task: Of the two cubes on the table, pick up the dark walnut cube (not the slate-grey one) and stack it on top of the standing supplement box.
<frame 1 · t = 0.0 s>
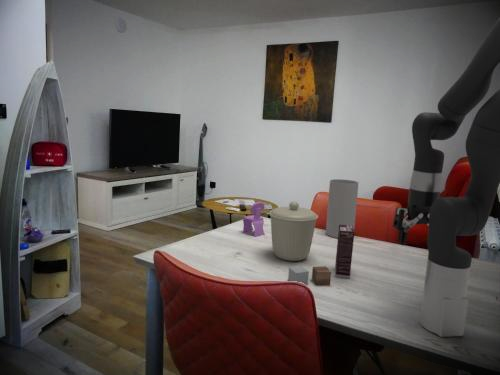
hand: (416, 244, 101), 17 cm above the table, tool pointing down, fingers open, 8 cm apart
slate cube: (297, 283, 113), on the table
supplement box: (342, 273, 123), on the table
walnut cube: (320, 282, 114), on the table
canister: (290, 256, 136), on the table
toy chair: (253, 233, 163), on the table
cylinder vase: (339, 235, 166), on the table
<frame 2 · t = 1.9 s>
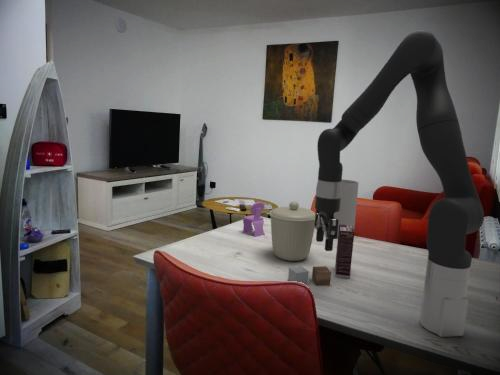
hand: (323, 245, 113), 12 cm above the table, tool pointing down, fingers open, 8 cm apart
nothing on the table moved.
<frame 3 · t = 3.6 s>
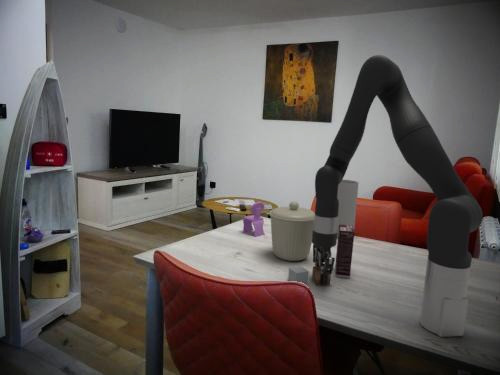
hand: (320, 281, 114), 0 cm above the table, tool pointing down, fingers closed on walnut cube, 4 cm apart
walnut cube: (320, 282, 114), on the table, touching gripper
everything else where it was.
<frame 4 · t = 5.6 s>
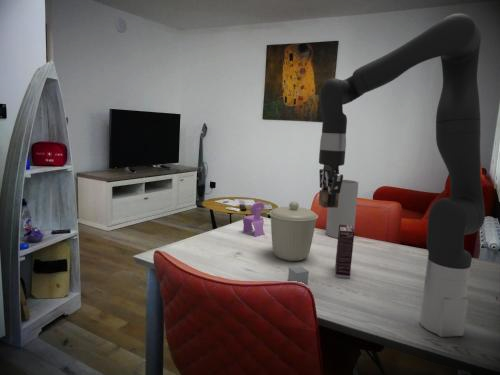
hand: (328, 204, 110), 25 cm above the table, tool pointing down, fingers closed on walnut cube, 4 cm apart
walnut cube: (327, 205, 110), point 25 cm above the table, touching gripper
everything else where it was.
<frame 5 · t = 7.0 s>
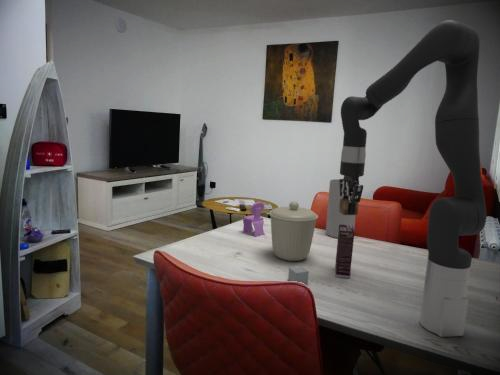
hand: (348, 212, 119), 21 cm above the table, tool pointing down, fingers closed on walnut cube, 4 cm apart
walnut cube: (347, 213, 119), point 21 cm above the table, touching gripper
everything else where it was.
when the fingers open (18 cm above the table, at t = 8.0 s): walnut cube drops 2 cm, resting on supplement box.
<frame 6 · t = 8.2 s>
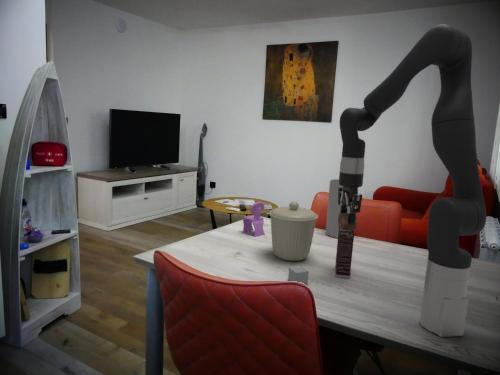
hand: (347, 221, 120), 18 cm above the table, tool pointing down, fingers open, 6 cm apart
supplement box: (342, 273, 123), on the table, touching walnut cube
walnut cube: (346, 227, 120), point 16 cm above the table, touching supplement box
everything else where it was.
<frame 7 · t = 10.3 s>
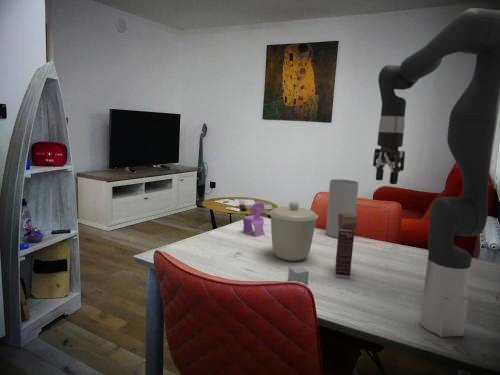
hand: (385, 182, 117), 32 cm above the table, tool pointing down, fingers open, 8 cm apart
nothing on the table moved.
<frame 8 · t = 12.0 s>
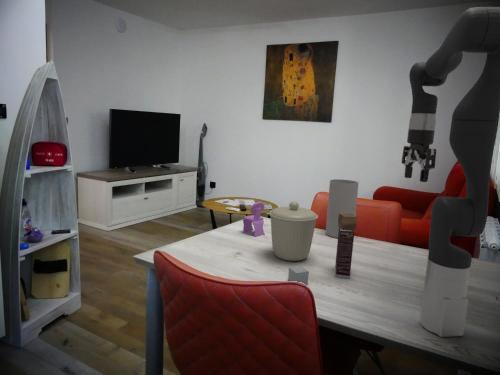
hand: (415, 179, 116), 33 cm above the table, tool pointing down, fingers open, 8 cm apart
nothing on the table moved.
at the end: walnut cube inside the target area on the supplement box (0.1 cm from its centre), point 16.1 cm above the supplement box's base; the gripper is holding nothing; supplement box tilted 0° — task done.
